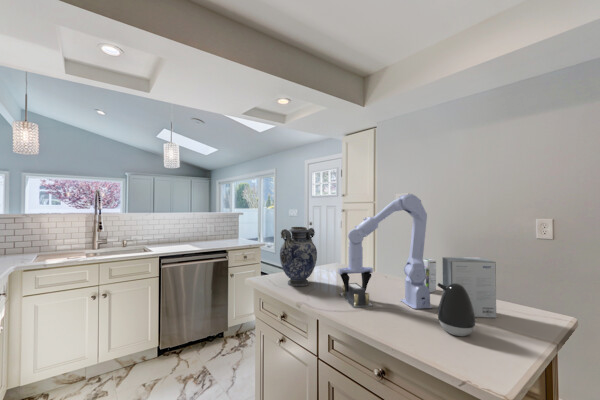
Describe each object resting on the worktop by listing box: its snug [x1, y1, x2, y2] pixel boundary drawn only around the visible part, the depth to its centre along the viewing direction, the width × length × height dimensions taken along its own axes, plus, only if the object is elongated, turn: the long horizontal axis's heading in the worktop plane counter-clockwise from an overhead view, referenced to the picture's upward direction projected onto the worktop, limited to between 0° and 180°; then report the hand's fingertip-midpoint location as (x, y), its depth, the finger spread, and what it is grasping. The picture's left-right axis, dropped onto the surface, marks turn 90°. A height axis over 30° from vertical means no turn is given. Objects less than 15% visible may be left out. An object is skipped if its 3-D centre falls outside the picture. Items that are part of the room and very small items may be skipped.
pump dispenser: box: [437, 282, 476, 337], centre depth 85 cm, size 10×10×15 cm
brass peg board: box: [339, 283, 374, 309], centre depth 112 cm, size 16×8×5 cm, turn 11°
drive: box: [345, 282, 366, 303], centre depth 113 cm, size 9×5×5 cm, turn 11°
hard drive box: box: [441, 256, 497, 319], centre depth 100 cm, size 16×8×20 cm, turn 84°
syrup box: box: [423, 257, 437, 293], centre depth 126 cm, size 6×6×14 cm
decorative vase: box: [279, 226, 318, 287], centre depth 135 cm, size 21×19×28 cm
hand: (355, 290), depth 112 cm, fingers open, 7 cm apart
